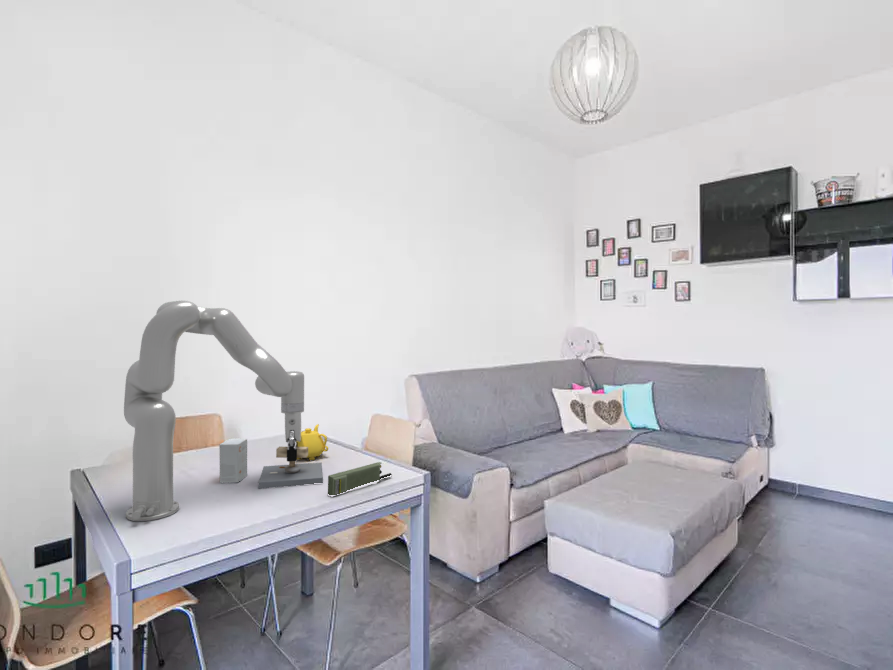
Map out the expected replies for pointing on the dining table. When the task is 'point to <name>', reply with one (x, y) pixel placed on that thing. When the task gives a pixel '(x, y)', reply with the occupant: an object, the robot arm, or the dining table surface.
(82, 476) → the dining table surface
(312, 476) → the plate
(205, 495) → the dining table surface
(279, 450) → the t key
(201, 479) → the dining table surface
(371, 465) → the handheld radio
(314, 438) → the teapot
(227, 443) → the small box
